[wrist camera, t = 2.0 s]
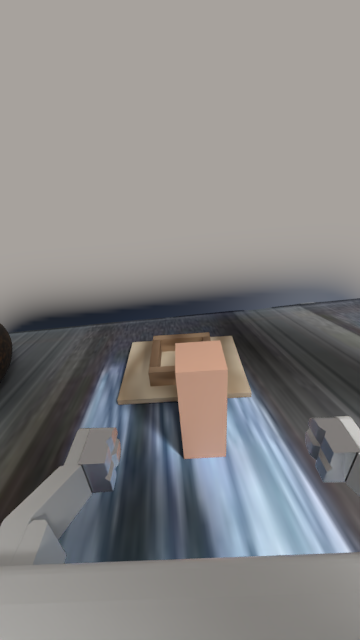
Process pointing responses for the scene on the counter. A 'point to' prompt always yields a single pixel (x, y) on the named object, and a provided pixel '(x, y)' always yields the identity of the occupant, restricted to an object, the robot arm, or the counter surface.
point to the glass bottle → (4, 351)
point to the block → (202, 398)
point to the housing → (172, 369)
